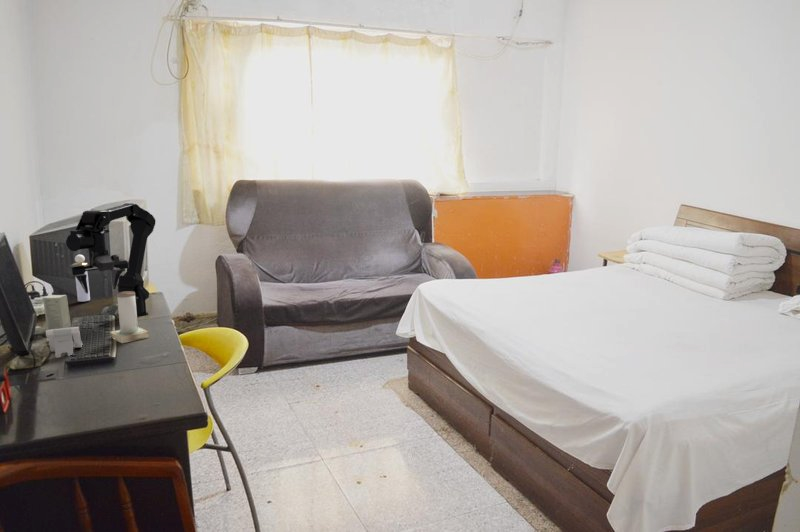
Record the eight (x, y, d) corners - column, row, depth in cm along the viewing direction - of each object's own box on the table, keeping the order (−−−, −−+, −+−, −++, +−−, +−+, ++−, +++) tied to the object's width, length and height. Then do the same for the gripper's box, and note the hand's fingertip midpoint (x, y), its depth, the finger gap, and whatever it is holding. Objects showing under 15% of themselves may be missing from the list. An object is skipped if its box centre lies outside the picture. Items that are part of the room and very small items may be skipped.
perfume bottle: (95, 301, 246) (90, 253, 243) (83, 304, 241) (78, 256, 237) (85, 299, 249) (80, 252, 245) (73, 302, 243) (68, 255, 240)
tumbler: (129, 328, 200) (126, 290, 198) (142, 329, 198) (138, 291, 196) (116, 332, 195) (112, 294, 193) (129, 334, 193) (125, 295, 191)
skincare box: (71, 328, 208) (68, 294, 205) (63, 332, 203) (59, 297, 201) (54, 327, 208) (51, 294, 206) (46, 331, 204) (42, 297, 202)
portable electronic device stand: (82, 347, 187) (80, 322, 186) (80, 355, 180) (77, 328, 179) (51, 351, 184) (48, 325, 182) (48, 359, 177) (44, 332, 175)
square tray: (137, 331, 203) (137, 325, 203) (149, 337, 197) (148, 330, 197) (110, 337, 197) (109, 331, 196) (121, 343, 191) (121, 336, 190)
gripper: (76, 252, 192) (81, 299, 194) (134, 246, 205) (137, 290, 208) (64, 249, 199) (68, 294, 202) (120, 243, 213) (124, 285, 215)
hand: (100, 291), depth 207 cm, fingers open, 9 cm apart
